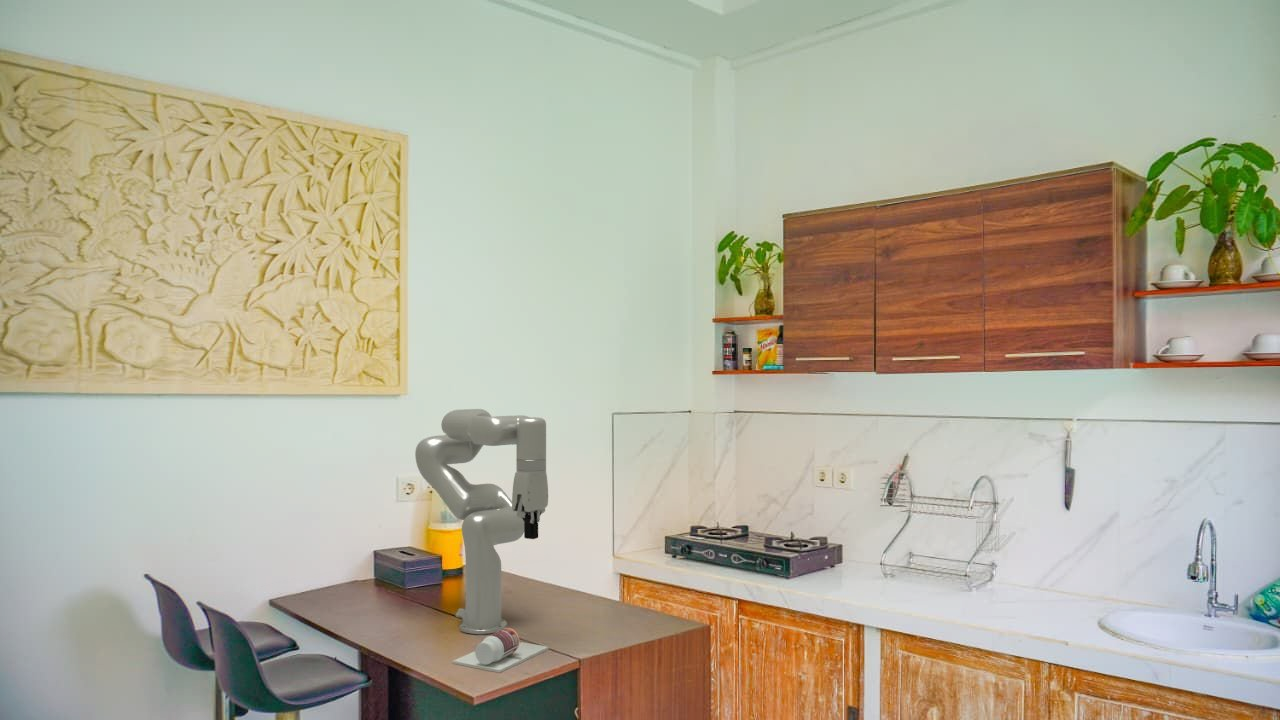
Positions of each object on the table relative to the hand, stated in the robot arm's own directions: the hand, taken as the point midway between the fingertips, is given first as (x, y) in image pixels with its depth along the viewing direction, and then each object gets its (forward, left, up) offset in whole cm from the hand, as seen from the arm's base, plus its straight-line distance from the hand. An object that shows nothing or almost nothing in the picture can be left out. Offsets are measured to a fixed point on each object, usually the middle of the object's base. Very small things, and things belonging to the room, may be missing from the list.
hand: (531, 538), depth 231 cm
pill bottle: (0, -9, -23) cm, 25 cm away
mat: (-1, -11, -27) cm, 29 cm away
